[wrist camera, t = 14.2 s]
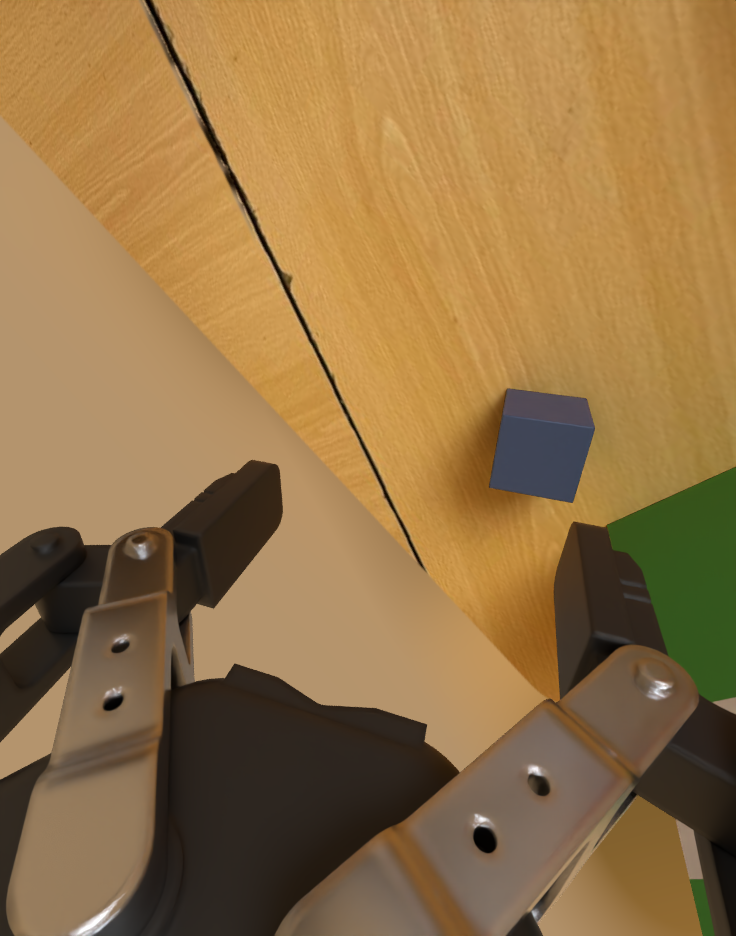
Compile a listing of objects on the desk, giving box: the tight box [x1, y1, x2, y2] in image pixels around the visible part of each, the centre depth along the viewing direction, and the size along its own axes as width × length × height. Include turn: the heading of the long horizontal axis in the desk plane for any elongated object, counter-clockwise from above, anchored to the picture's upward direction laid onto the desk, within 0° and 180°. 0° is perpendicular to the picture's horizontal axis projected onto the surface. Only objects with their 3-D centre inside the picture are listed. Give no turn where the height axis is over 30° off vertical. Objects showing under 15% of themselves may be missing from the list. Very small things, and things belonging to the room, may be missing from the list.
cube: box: [489, 389, 595, 503], centre depth 29 cm, size 5×5×5 cm
